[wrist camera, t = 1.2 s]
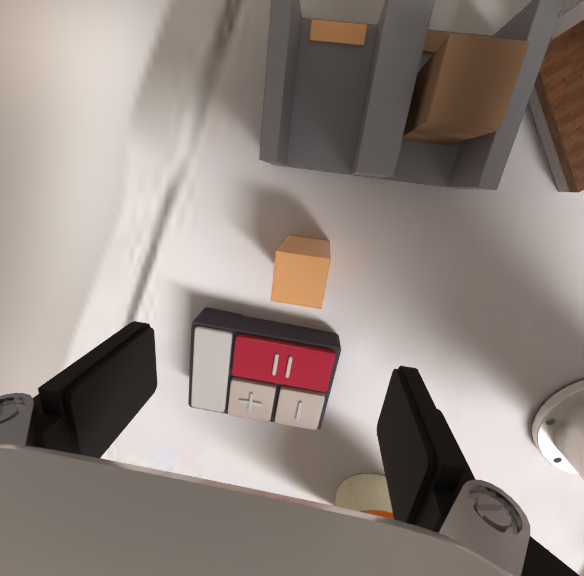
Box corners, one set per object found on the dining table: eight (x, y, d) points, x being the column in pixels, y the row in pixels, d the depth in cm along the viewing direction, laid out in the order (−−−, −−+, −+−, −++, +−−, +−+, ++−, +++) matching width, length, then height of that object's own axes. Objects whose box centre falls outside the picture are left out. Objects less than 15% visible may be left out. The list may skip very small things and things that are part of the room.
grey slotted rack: (503, 44, 21) (567, -7, 15) (458, 188, 24) (497, 189, 19) (287, 23, 22) (273, -32, 16) (273, 164, 25) (258, 159, 20)
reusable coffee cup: (429, 523, 38) (488, 718, 24) (339, 533, 41) (345, 713, 27) (406, 455, 35) (458, 636, 21) (309, 471, 38) (298, 641, 24)
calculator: (320, 436, 31) (185, 412, 31) (319, 407, 35) (199, 386, 35) (342, 351, 27) (188, 324, 27) (339, 329, 31) (204, 306, 31)
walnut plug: (467, 85, 21) (529, 41, 15) (450, 145, 23) (500, 129, 16) (412, 79, 21) (449, 33, 15) (398, 139, 23) (427, 121, 16)
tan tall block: (329, 241, 27) (330, 259, 21) (322, 280, 29) (321, 309, 22) (288, 234, 28) (275, 250, 21) (283, 274, 29) (270, 300, 22)
